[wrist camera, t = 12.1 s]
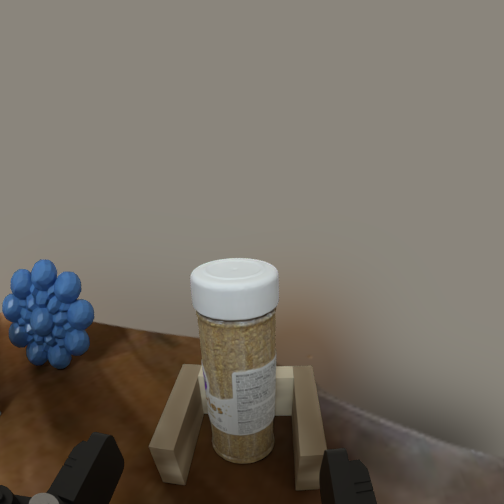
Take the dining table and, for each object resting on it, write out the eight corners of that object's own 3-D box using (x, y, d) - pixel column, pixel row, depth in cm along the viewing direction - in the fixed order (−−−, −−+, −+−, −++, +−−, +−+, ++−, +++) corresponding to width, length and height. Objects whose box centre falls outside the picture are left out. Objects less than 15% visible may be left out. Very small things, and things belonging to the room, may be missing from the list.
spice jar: (204, 432, 21) (180, 262, 17) (258, 416, 22) (255, 251, 19) (226, 475, 17) (204, 290, 13) (287, 453, 18) (296, 272, 15)
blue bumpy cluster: (116, 348, 32) (97, 245, 29) (103, 383, 26) (73, 263, 23) (34, 346, 30) (10, 253, 27) (12, 376, 24) (-22, 270, 21)
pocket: (163, 481, 16) (148, 446, 15) (189, 400, 24) (183, 363, 23) (319, 489, 15) (327, 454, 14) (308, 402, 24) (312, 365, 23)
